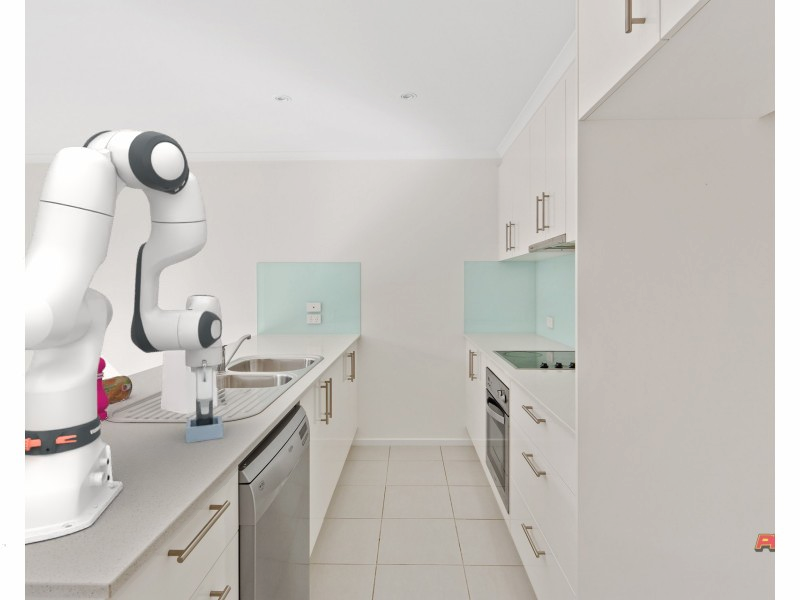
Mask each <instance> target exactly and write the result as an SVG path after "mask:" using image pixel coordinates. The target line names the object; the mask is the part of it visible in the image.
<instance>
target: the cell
mask: <svg viewBox="0 0 800 600" xmlns="http://www.w3.org/2000/svg"><path fill="white" fill-rule="evenodd" d="M213 416H214V407H213V399H212V400H211V401H209V413H208V414H201V403H200V402H198V401H197V398H196V412H195V418H196V426H204V425H212V424H213Z"/></svg>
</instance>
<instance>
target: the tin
mask: <svg viewBox="0 0 800 600" xmlns="http://www.w3.org/2000/svg"><path fill="white" fill-rule="evenodd" d="M102 385H103V389H104V391H105V393H106V395H107V396H108V399H109V404H110V405H112V404H111V403H113V404H115V403H114V402H116V403H118V402H117V401H119V402H121V401H120V400H123V399H125V400H127V399H128V398H129V397H130V396H131V394H132V390H133V383H132V379H131V378H130V377H129V376H126V375H118V376H112V377H108V378H105V379H102ZM123 401H124V400H123Z"/></svg>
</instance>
